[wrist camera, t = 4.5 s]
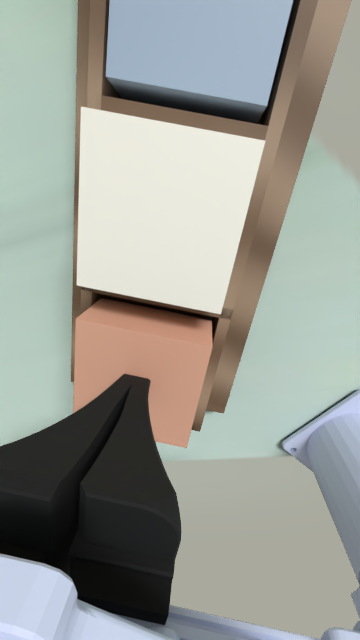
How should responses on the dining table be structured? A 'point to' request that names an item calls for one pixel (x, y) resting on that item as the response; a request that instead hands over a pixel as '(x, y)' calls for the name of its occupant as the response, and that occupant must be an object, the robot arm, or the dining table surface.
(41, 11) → the dining table surface
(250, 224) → the wooden compartment tray
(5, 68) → the dining table surface
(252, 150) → the cream key
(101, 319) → the terracotta key
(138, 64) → the slate blue key
